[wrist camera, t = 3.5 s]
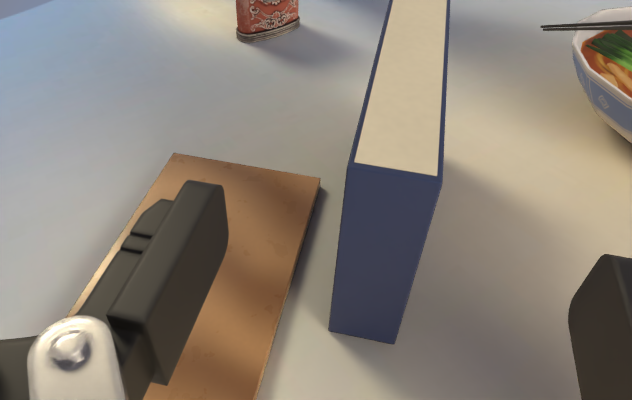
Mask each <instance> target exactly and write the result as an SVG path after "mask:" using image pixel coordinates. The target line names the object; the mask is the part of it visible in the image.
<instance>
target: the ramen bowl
mask: <svg viewBox="0 0 632 400" xmlns="http://www.w3.org/2000/svg"><path fill="white" fill-rule="evenodd" d="M549 27H575V28H549ZM541 28H547V29H543V31H569V30H575V33H574V37H573V40H572V47H573V60H574V64H575V67H576V71H577V75H578V78H579V80H580V83H581V85H582V87H583V89H584V92H585V94H586V95H587V97H588V99H589V101H590V103H591V105H592V107H593V108H594V110H595V112H596V113H597V114H598V115H599V116H600V117H601V118H602V119H603V120H604V121H605V122H606V123H607V124H608V125H610V126H611V127H612V128H613V129H614V130H616V131H617V132H618V133H619V134H621V135H622V136H623V137H624V138H625V139H627V140H628V141H629V142H631V143H632V6H629V7H621V8H612V9H604V10H600V11H598V12H596V13H594V14H592V15H590V16H588V17H586V18H584V19H582V20H580V21H578V23H577V24H562V25H545V26H541Z"/></svg>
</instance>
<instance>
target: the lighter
mask: <svg viewBox="0 0 632 400" xmlns="http://www.w3.org/2000/svg"><path fill="white" fill-rule="evenodd" d="M236 9H237V24H238V27H237V28H236V34H237V39H238V40H240V41H242V42H246V43H251V42H257V41H262V40H266V39H270V38H273V37H277V36H280V35H282V34H285V33H288V32H290V31H292V30H294V29H296V28H298V27H299V20H300V18H299V16H298V0H236Z"/></svg>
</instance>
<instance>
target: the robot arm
mask: <svg viewBox="0 0 632 400" xmlns="http://www.w3.org/2000/svg"><path fill="white" fill-rule="evenodd" d="M228 239H229V228H228V220H227V211H226V203H225V194H224V189H223V187H222V185H218V184H212V183H206V182H201V181H195V180H187V181H186V182H185V183H184V184H183V186H182V188H181V189H180V191H179V193H178V194H177V196H176V198H175V199H174V201H173V200H167V199H162V198H161V199H160V200H159V201H157V202H156V203H155V204H153V205H152V206H151V207H149V208H148V209H147V210H145V211H144V212H143V213H142V214H141V215H140V217H139V218H138V220H137V222H136V223H135V225H134V226H133V228H132V229H131V231H130V235H129V236H128V235H127V237H126V239H125V240H124V242H123V243H122V245H121V246H120V250H119V251H117V252H116V254H115V256H114V257H113V259H112V260H111V262H110V263H109V265H108V266H107V268H106V269H105V271H104V273H103V274H102V276H101V277H100V279H99V280H98V282H97V283H96V285H95V286H94V288H93V290H92V291H91V293H90V294H89V296H88V297H87V299H86V300H85V302H84V303H83V305H82V306H81V308H80V309H79V311H78V312H77V313H76V314H75V315H74V316H73V317H69V318H65V319H63V320H60V321H58V322H56V323H54V324H52V325H51V326H50V327H48V328H47V329H45V330H44V331H43V332H42V333H41V334H40V335H38V336H33V337H26V338H16V339H6V340H0V400H143V398H144V396H145V394H146V391H147V389H148V387H149V385H150V383H151V382H152V383H156V384H161V385H165V386H168V383H169V381H170V379H171V377H172V374H173V372H174V370H175V367H176V365H177V363H178V361H179V358H180V356H181V354H182V352H183V349H184V347H185V345H186V343H187V340H188V338H189V336H190V333H191V331H192V329H193V327H194V324H195V322H196V320H197V318H198V315H199V313H200V311H201V309H202V306H203V304H204V302H205V299H206V297H207V295H208V293H209V290H210V288H211V286H212V284H213V281H214V279H215V277H216V275H217V272H218V270H219V268H220V266H221V263H222V261H223V259H224V256H225V253H226V250H227V245H228ZM568 324H569V331H570V336H571V342H572V348H573V353H574V359H575V365H576V370H577V376H578V382H579V388H580V393H581V399H582V400H632V258H626V257H620V256H614V255H609V254H604V255H603V256H601V257H600V258H599V260H598V261H597V262H596V264H595V265H594V267H593V268H592V270H591V271H590V273H589V274H588V276H587V277H586V279H585V280H584V282H583V283H582V285H581V286H580V288H579V289H578V291H577V292H576V294H575V295H574V297H573V299H572V301H571V304H570V308H569V315H568Z"/></svg>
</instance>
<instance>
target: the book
mask: <svg viewBox="0 0 632 400" xmlns="http://www.w3.org/2000/svg"><path fill="white" fill-rule="evenodd" d="M449 18H450V0H390V1H389V5H388V8H387V12H386V16H385V20H384V24H383V28H382V32H381V36H380V40H379V44H378V48H377V52H376V56H375V60H374V64H373V67H372V71H371V75H370V79H369V83H368V87H367V91H366V95H365V99H364V103H363V107H362V111H361V115H360V119H359V123H358V126H357V130H356V134H355V138H354V142H353V146H352V150H351V154H350V158H349V162H348V166H347V172H346V181H345V190H344V198H343V207H342V216H341V224H340V233H339V242H338V250H337V259H336V268H335V276H334V285H333V294H332V302H331V311H330V320H329V328H328V330H329V331H331V332H336V333H341V334H346V335H351V336H355V337H360V338H365V339H370V340H375V341H379V342H384V343H389V344H395V341H396V337H397V334H398V331H399V327H400V324H401V321H402V317H403V314H404V310H405V307H406V304H407V300H408V297H409V294H410V290H411V287H412V284H413V280H414V277H415V274H416V270H417V267H418V264H419V260H420V257H421V254H422V250H423V247H424V243H425V240H426V237H427V233H428V230H429V227H430V223H431V220H432V217H433V213H434V210H435V207H436V203H437V200H438V197H439V193H440V190H441V186H442V180H443V157H444V134H445V111H446V87H447V64H448V41H449Z"/></svg>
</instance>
